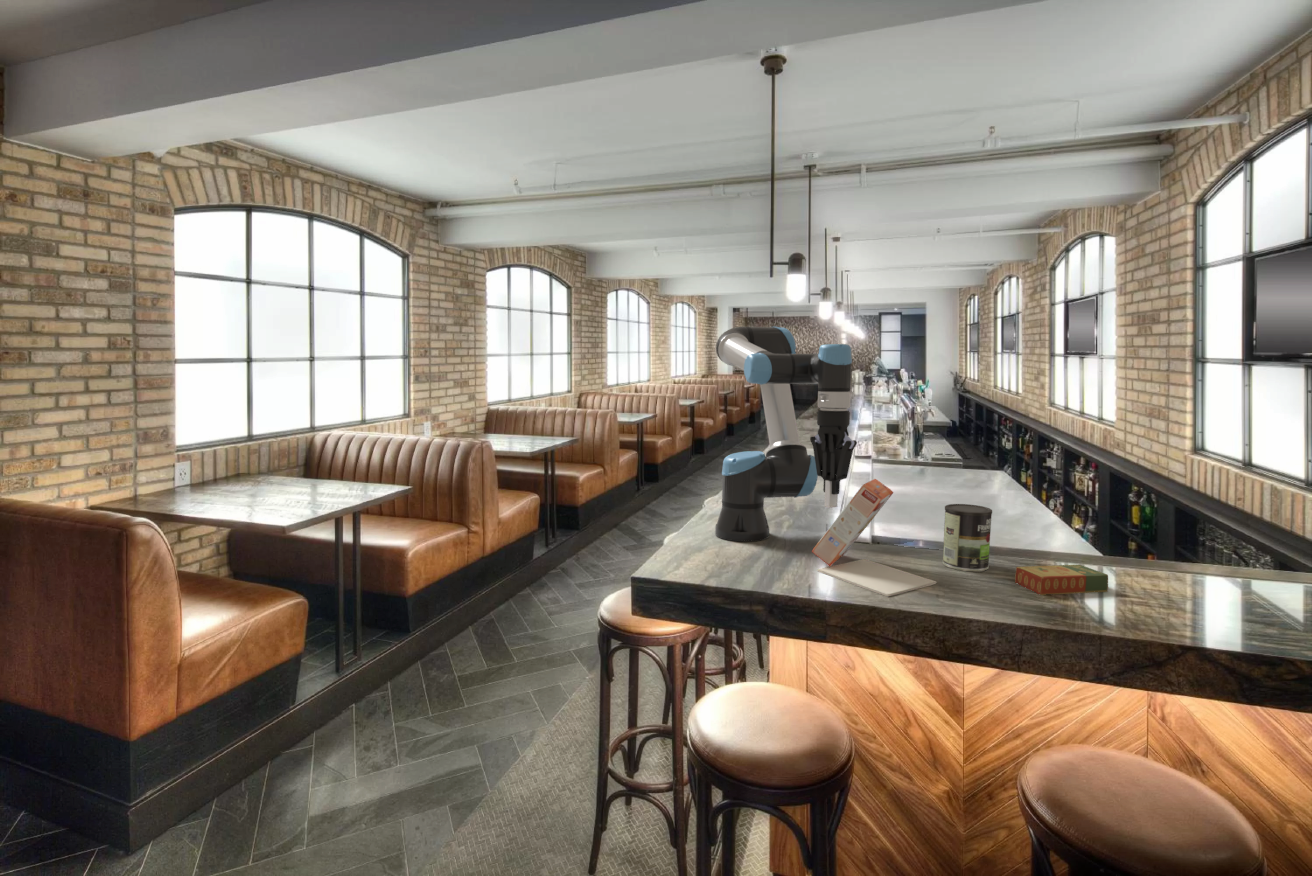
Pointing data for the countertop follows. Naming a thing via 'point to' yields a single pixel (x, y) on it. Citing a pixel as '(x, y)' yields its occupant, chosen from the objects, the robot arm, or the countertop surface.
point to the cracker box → (852, 521)
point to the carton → (1061, 579)
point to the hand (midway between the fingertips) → (830, 506)
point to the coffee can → (967, 537)
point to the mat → (876, 577)
